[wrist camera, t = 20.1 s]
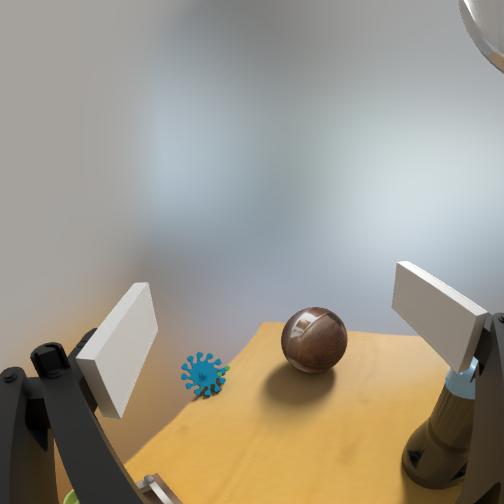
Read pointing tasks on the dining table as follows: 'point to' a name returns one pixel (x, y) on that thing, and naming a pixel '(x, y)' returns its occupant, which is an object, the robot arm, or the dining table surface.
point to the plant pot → (71, 498)
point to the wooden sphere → (314, 340)
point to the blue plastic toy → (204, 374)
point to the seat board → (157, 490)
